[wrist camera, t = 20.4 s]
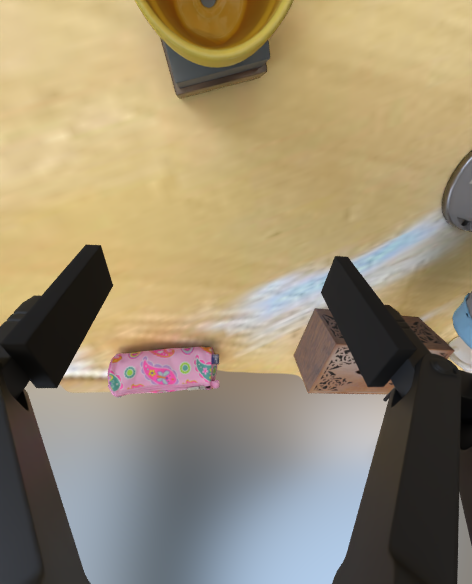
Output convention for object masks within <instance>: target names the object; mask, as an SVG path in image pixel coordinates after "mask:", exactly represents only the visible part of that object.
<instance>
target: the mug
mask: <svg viewBox="0 0 472 584" xmlns="http://www.w3.org/2000/svg"><path fill="white" fill-rule="evenodd" d="M448 345H449V346H450V347H451V348H453V349H454V350H455V351H454V352H453V353H452V354H451V355H450V356H449V358H450V359H451V360H452V361H453V362H454V363H456V364H457V365H458V366H460V367H461V368H463V369H464V370H465V371H466V372H468V373H472V349H471V348H470V347H469V346H468V345H467V344H466V343H465V342H464V341H463V340H462V339H461V338H460V336H458V337H456V338H454V339H453V340H452V341H451V342H450V343H449V344H448Z"/></svg>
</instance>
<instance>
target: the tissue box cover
mask: <svg viewBox="0 0 472 584" xmlns="http://www.w3.org/2000/svg"><path fill="white" fill-rule="evenodd" d="M402 317H403V318H404V320H405V322H407V324H408V325H409V326H410V329H412V330H413V331H414V332H415V334H416V335H417V336H418V337H419V339H420V340H421V341H422V342H423V344H424V345H425V346H426V347H427V349H428V350H429V351H430V352H431V353H432V354H437V355H440V356H443V357H444V358H446V359H447V358H448V357H449V356H450V355H451V354H452V353H453V352H454V351H455V350H454V349H453V348H451V347H450V346H449V345H448V344H447V343H446V342H445V341H444V340H443V339H442V338H440V337H439V336H438V335H437V334H436V333H435V332H434V331H433V330H432V329H431V328H429V327H428V326H427V325H426V324H425V323H424V322H423V321H422V320H421V319H420V318H418V317H408V316H402ZM294 358H295V360H296V363H297V366H298V368H299V371H300V373H301V376H302V379H303V381H304V384H305V386H306V389H307V392H308V393H338V394H340V393H342V394H343V393H344V394H388V393H389V392H390V391H391V390H392V389H393V388H394V387H395V386H394V385H393V383H392V381H391V380H390V381H389V382H388V383H387V384H386V385H385V386H384V387H367V385H366V383H365V381H364V379H363V377H362V375H361V373H360V371H359V369H358V367H357V364H356V362H355V360H354V358H353V356H352V354H351V352H350V350H349V348H348V346H347V344H346V342H345V340H344V338H343V336H342V334H341V332H340V330H339V328H338V326H337V324H336V322H335V320H334V318H333V316H332V314H331V312H330V310H325V309H315V310H314V312H313V314H312V316H311V319H310V321H309V323H308V325H307V327H306V330H305V332H304V334H303V336H302V338H301V341H300V343H299V345H298V347H297V349H296V352H295V354H294Z"/></svg>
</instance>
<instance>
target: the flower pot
mask: <svg viewBox="0 0 472 584" xmlns="http://www.w3.org/2000/svg"><path fill="white" fill-rule="evenodd" d="M135 2H136V3H137V5H138V7H139V8H140V10H141V12H142V13H143V15H144V16H145V18H146V19H147V21H148V22H149V23H150V25H151V26H152V28H153V29H154V30H155V31H156V33H157V34H158V35H159V36H160V37H161V38H162V39H163V41H164V42H165V43H166V44H167V45H168V46H169V47H171V48H172V49H173V50H174V51H175V52H176V53H178V54H179V55H181V56H182V57H184V58H185V59H187V60H189V61H191V62H193V63H196V64H198V65H202V66H206V67H217V68H219V67H227V66H231V65H234V64H237V63H239V62H241V61H243V60H245V59H247V58H248V57H250V56H251V55H252V54H254V53H255V52H256V51H257V50H258V49H260V48H261V47H262V46H263V45H264V44H265V43H266V41H267V40H268V39H269V38H270V37H271V36H272V34H273V33H274V32H275V31H276V29H277V28H278V26H279V25H280V24H281V22H282V21H283V19H284V18H285V16H286V14H287V12H288V10H289V9H290V7H291V5H292V3H293V0H216V2H215V4H214V5H213V6H212V7H210V8H207V7H205V6H204V5H203V4H202V2H201V0H135Z"/></svg>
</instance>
